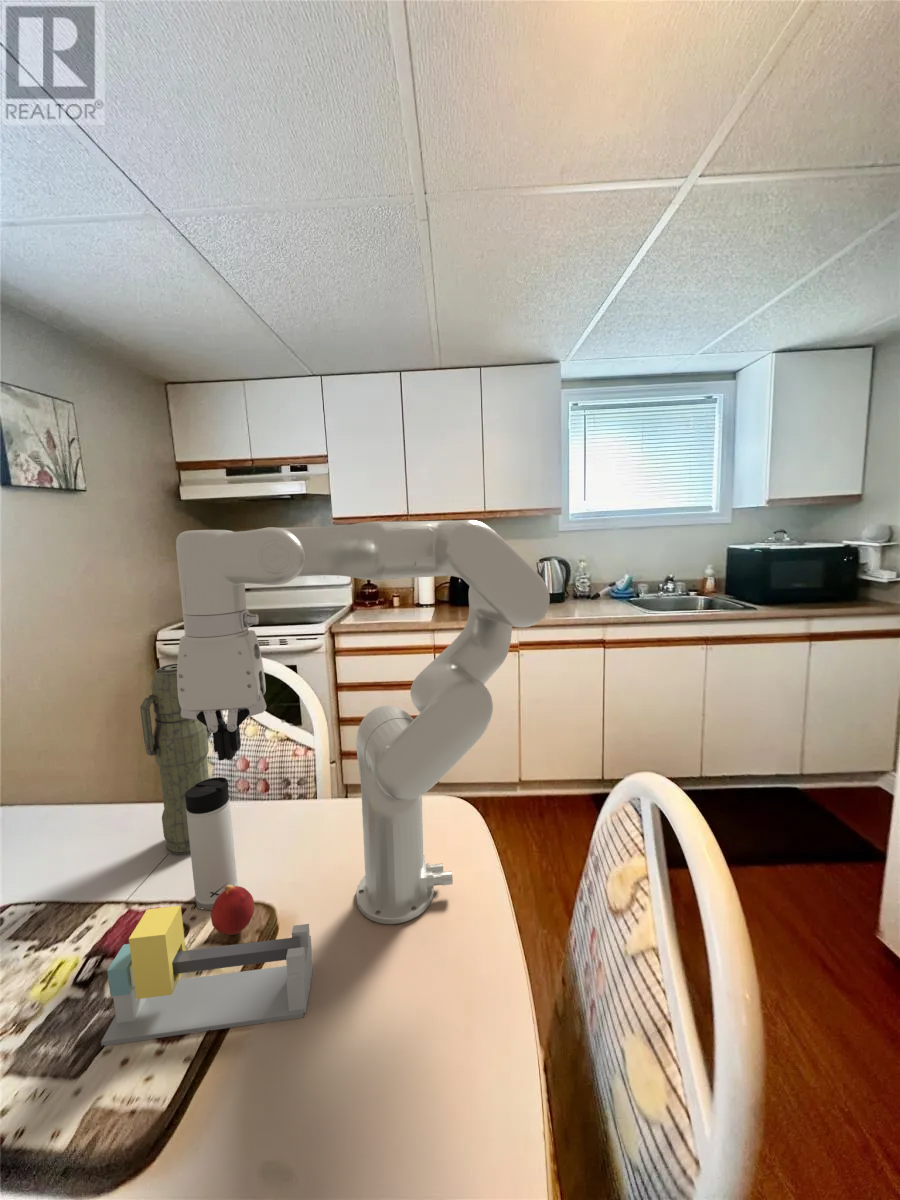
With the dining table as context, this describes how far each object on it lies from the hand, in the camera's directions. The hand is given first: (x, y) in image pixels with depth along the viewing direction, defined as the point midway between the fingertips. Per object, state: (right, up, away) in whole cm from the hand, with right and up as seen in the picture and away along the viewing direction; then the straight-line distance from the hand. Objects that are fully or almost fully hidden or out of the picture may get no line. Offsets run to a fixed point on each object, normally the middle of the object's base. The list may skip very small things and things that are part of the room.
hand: (228, 755), depth 66 cm
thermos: (-20, -26, +28) cm, 43 cm away
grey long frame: (+1, -30, -5) cm, 30 cm away
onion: (-2, -29, +6) cm, 29 cm away
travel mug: (-8, -28, +13) cm, 32 cm away
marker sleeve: (-5, -26, -6) cm, 27 cm away
